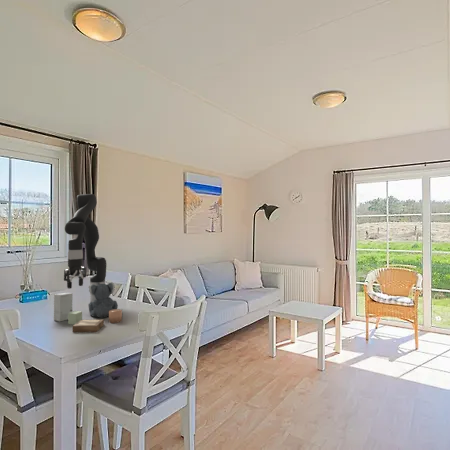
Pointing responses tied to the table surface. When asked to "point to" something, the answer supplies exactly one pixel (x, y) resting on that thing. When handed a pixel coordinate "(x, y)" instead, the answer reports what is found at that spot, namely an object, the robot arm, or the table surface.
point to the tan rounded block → (115, 315)
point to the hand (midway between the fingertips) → (75, 287)
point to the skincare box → (62, 306)
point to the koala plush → (102, 300)
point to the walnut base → (88, 325)
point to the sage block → (74, 317)
